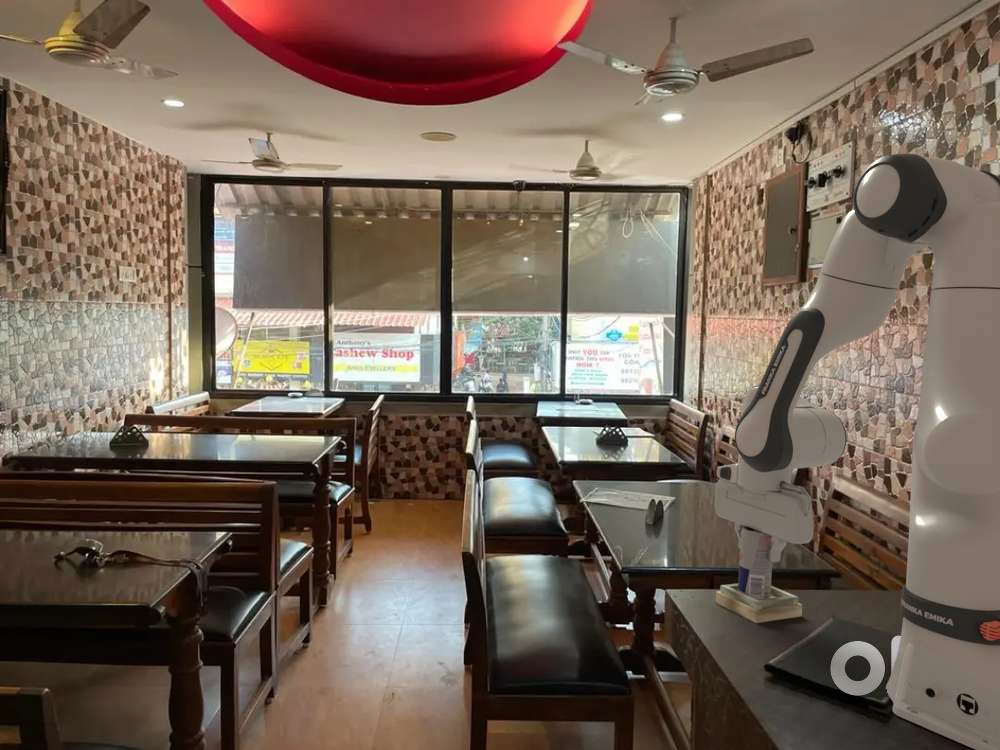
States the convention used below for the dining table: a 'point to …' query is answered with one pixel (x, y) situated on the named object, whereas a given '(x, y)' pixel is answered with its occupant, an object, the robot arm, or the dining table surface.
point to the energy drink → (755, 564)
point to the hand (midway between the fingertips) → (758, 555)
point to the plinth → (759, 604)
